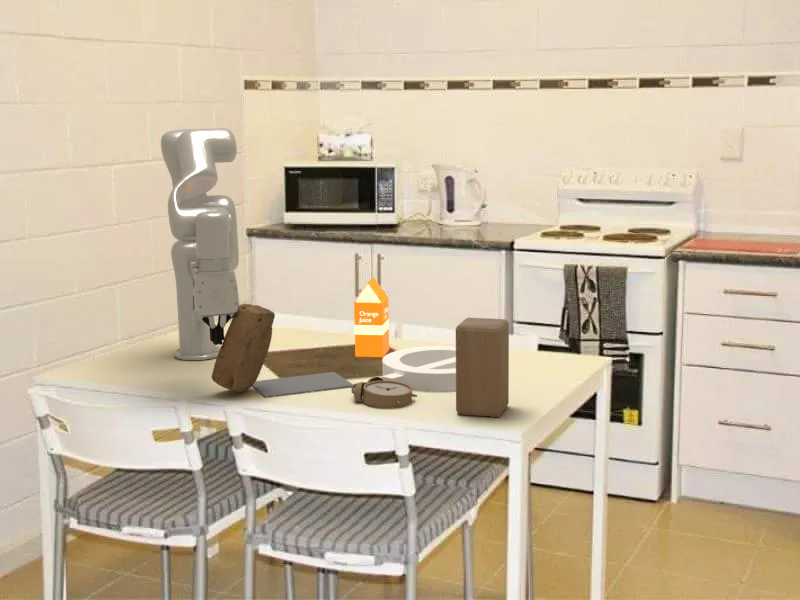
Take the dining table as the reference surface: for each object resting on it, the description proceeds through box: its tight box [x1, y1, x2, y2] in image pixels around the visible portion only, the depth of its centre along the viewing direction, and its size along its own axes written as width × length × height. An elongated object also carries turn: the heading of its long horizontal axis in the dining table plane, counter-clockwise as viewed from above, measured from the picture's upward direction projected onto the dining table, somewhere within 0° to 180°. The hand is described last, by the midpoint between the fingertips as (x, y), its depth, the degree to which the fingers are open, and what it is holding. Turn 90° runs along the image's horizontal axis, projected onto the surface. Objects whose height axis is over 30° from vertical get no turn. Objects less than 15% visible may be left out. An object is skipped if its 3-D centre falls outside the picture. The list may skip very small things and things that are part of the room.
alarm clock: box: [351, 376, 418, 409], centre depth 264 cm, size 11×5×15 cm
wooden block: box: [455, 317, 510, 418], centre depth 253 cm, size 10×10×20 cm
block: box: [211, 303, 276, 393], centre depth 270 cm, size 11×8×20 cm
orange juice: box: [353, 276, 390, 358], centre depth 307 cm, size 8×9×20 cm
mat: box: [252, 371, 353, 398], centre depth 278 cm, size 14×22×1 cm, turn 113°
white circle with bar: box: [381, 345, 456, 393], centre depth 284 cm, size 28×28×5 cm
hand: (217, 343), depth 268 cm, fingers closed
